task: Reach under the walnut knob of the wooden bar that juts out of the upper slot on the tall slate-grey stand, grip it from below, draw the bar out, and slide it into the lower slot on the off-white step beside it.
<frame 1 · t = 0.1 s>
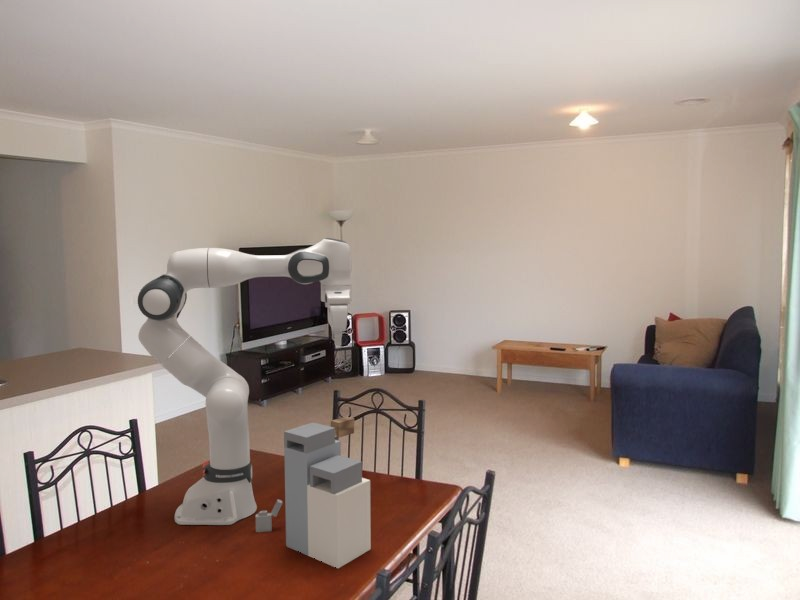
hand: (336, 342, 185), 48 cm above the table, tool pointing down, fingers open, 8 cm apart
lighter: (269, 530, 172), on the table
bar: (342, 434, 171), point 26 cm above the table, touching stand
stand: (330, 533, 170), on the table
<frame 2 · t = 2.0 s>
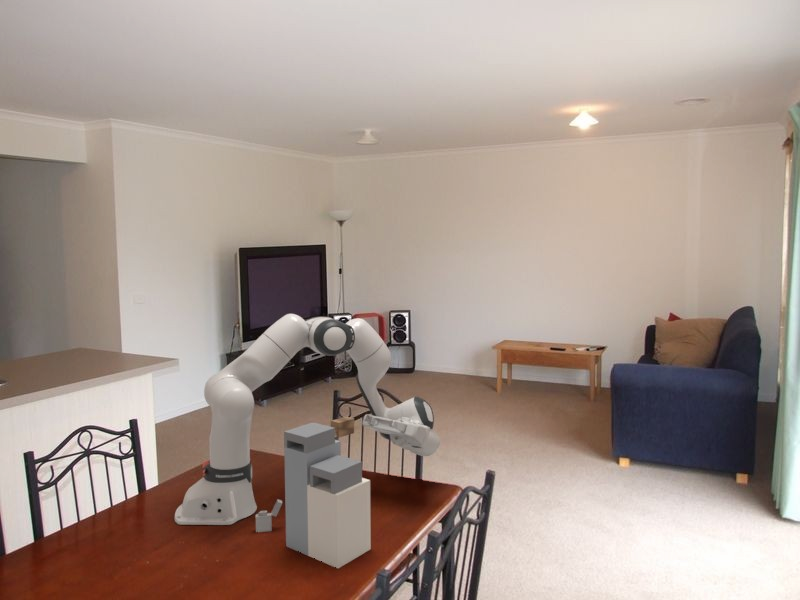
hand: (378, 420, 183), 26 cm above the table, tool pointing upward, fingers open, 8 cm apart
nothing on the table moved.
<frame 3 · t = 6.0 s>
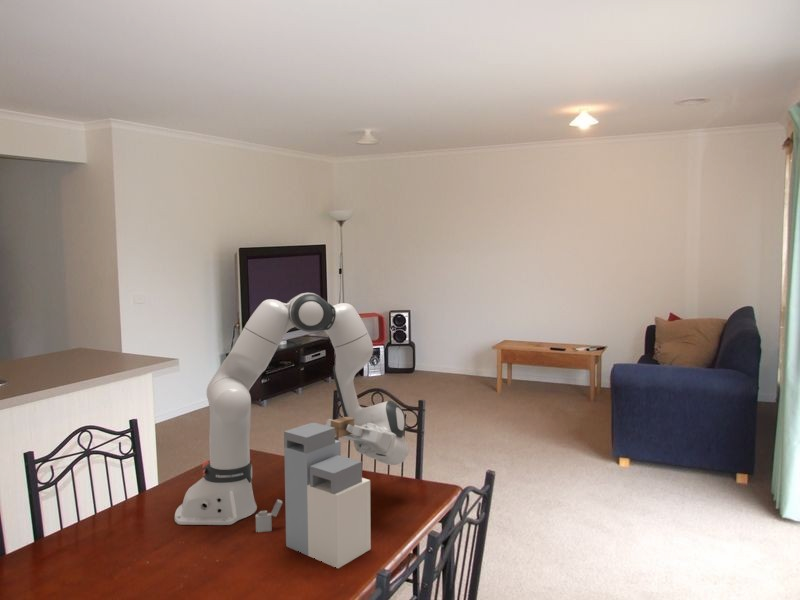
hand: (340, 425, 170), 28 cm above the table, tool pointing upward, fingers closed on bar, 3 cm apart
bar: (342, 434, 171), point 26 cm above the table, touching gripper, stand
everything else where it was.
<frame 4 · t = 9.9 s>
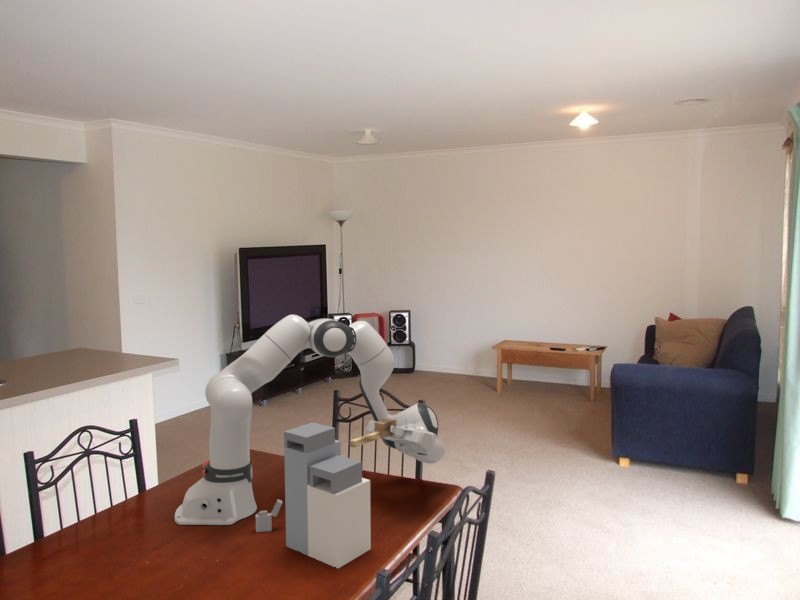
hand: (383, 426, 179), 26 cm above the table, tool pointing upward, fingers closed on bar, 3 cm apart
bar: (385, 435, 179), point 23 cm above the table, touching gripper
everything else where it was.
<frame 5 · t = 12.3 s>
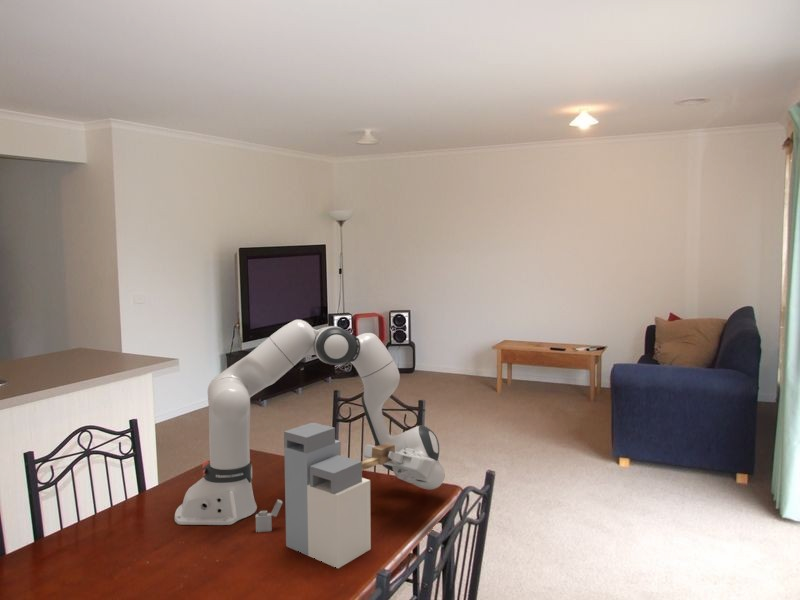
hand: (381, 452, 171), 21 cm above the table, tool pointing upward, fingers closed on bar, 3 cm apart
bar: (383, 460, 172), point 19 cm above the table, touching gripper
everything else where it was.
when the fingers open (21 cm above the table, at t = 14.1 s): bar drops 2 cm, resting on stand.
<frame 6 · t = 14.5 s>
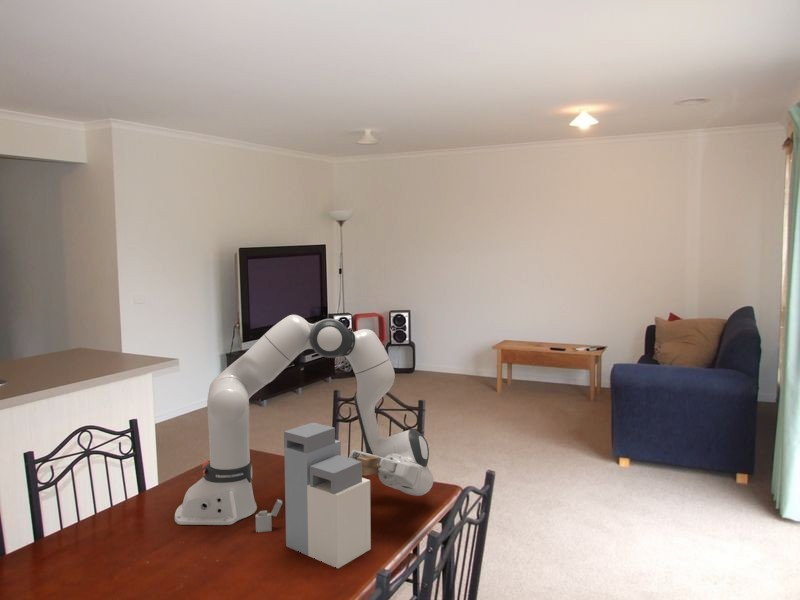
hand: (366, 458, 166), 21 cm above the table, tool pointing upward, fingers open, 8 cm apart
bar: (367, 473, 167), point 17 cm above the table, tilted 10°, touching stand
everything else where it was.
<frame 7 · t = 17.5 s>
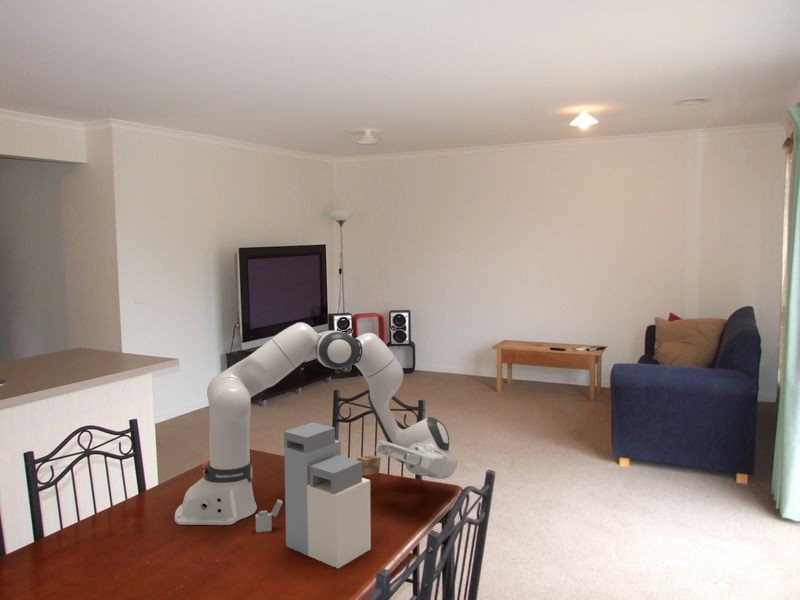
hand: (392, 451, 174), 20 cm above the table, tool pointing upward, fingers open, 8 cm apart
nothing on the table moved.
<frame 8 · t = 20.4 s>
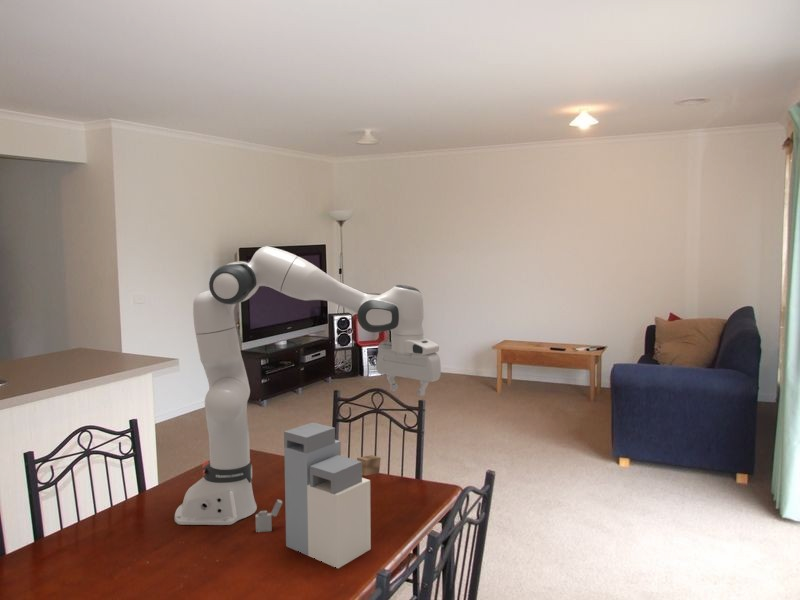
hand: (407, 393, 178), 35 cm above the table, tool pointing down, fingers open, 8 cm apart
nothing on the table moved.
at the end: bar inside the target area (0.3 cm from its centre), point 17.1 cm above the table; the gripper is holding nothing; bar tilted 10° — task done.
